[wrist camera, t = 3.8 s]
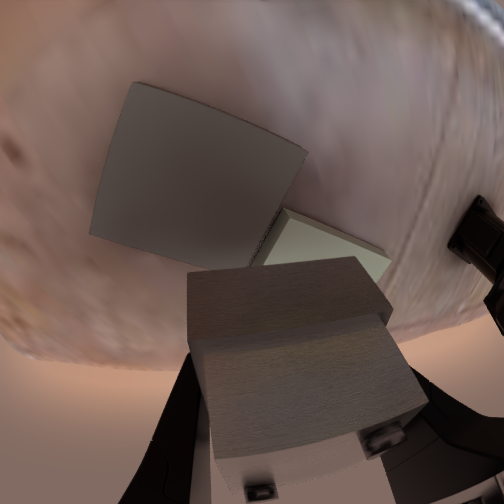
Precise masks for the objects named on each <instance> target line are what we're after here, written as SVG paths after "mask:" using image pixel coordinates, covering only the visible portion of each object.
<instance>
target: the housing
mask: <svg viewBox="0 0 504 504" xmlns="http://www.w3.org/2000/svg"><path fill="white" fill-rule="evenodd" d="M392 312H393V307H392V306H391V304H390V303H389V301H388V300H387V299H386V297H385V296H384V294H383V293H382V292H381V290H380V289H379V287H378V286H377V285H376V283H375V282H374V280H373V279H372V278H371V276H370V275H369V274H368V272H367V271H366V270H365V268H364V267H363V266H362V264H361V263H360V262H359V260H358V259H357V258H356V256H348V257H339V258H330V259H321V260H312V261H302V262H293V263H283V264H273V265H263V266H253V267H243V268H232V269H222V270H211V271H201V272H190V273H187V341H188V345H189V349H190V353H191V357H192V360H193V364H194V368H195V371H196V375H197V379H198V382H199V386H200V389H201V391H202V394H203V397H204V401H205V404H206V407H207V410H208V413H209V420H210V429H211V438H212V445H213V453H214V460H215V462H216V464H217V466H218V468H219V470H220V472H221V474H222V476H223V478H224V480H225V482H226V484H227V486H228V488H229V489H230V491H231V493H232V494H241V493H244V495H245V500H246V503H248V504H252V503H261V502H266V501H271V500H275V499H278V498H279V496H278V492H277V488H279V487H284V486H289V485H293V484H298V483H303V482H307V481H311V480H314V479H318V478H322V477H325V476H329V475H332V474H335V473H339V472H342V471H345V470H348V469H351V468H354V467H356V466H358V465H359V464H360V463H362V462H363V461H364V460H365V459H366V460H372V459H375V458H377V457H380V456H382V455H385V454H387V453H389V452H391V451H393V450H395V449H396V448H398V447H400V446H401V445H403V444H404V443H406V442H407V441H408V438H407V435H406V433H405V431H404V429H403V427H404V426H405V425H406V424H407V423H408V422H409V421H410V420H411V419H412V418H413V417H415V416H416V415H417V414H418V413H419V411H420V410H421V409H422V408H423V407H424V406H425V405H426V404H427V403H428V402H429V401H428V399H427V397H426V395H425V393H424V391H423V389H422V388H421V386H420V384H419V382H418V380H417V379H416V377H415V375H414V373H413V372H412V370H411V368H410V366H409V365H408V363H407V361H406V360H405V358H404V356H403V355H402V353H401V351H400V349H399V348H398V346H397V344H396V343H395V341H394V340H393V338H392V336H391V335H390V333H389V331H388V330H387V328H386V325H387V323H388V321H389V318H390V316H391V314H392Z"/></svg>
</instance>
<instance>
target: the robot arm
mask: <svg viewBox="0 0 504 504" xmlns="http://www.w3.org/2000/svg"><path fill="white" fill-rule="evenodd" d="M448 248H449V249H450V250H451V251H452V252H454V253H455V254H456V255H458V256H459V257H460V258H462V259H463V260H464V261H466V262H467V263H468V264H471V263H472V264H473V265H474V266H475V267H476V268H477V269H478V270H479V271H480V272H481V273H482V274H483V275H484V276H485V277H486V278H487V279H488V280H489V281H490V282H491V283H492V284H493V287H492V288H491V290H490V292H489V293H488V295H487V296H486V297H485V299H484V300H483V301H484V303H485V305H486V306H487V309H488V310H489V312H490V314H491V316H492V317H493V319H494V321H495V323H496V325H497V326H498V328H499V330H500V332H501V334H502V335H503V336H504V221H502V220H501V219H500V218H498V217H497V216H496V214H495V213H494V211H493V210H492V209H491V207H490V206H489V204H488V203H487V202H486V200H485V199H484V198H483V197H482V196H480V195H479V196H478V197H477V198H476V200H475V202H474V203H473V205H472V207H471V209H470V210H469V212H468V214H467V216H466V217H465V219H464V221H463V222H462V224H461V225H460V227H459V229H458V230H457V232H456V233H455V235H454V236H453V238H452V240H451V241H450V243H449V244H448ZM409 366H410V365H409ZM410 368H411V370H412V372H413V373H414V375H415V377H416V379H417V380H418V382H419V384H420V386H421V388H422V389H423V391H424V393H425V395H426V397H427V399H428V401H429V402H428V403H427V404H426V405H425V406H424V407H423V408H422V409H421V410H420V411H419V413H418V414H417V415H416V416H415V417H413V418H412V419H411V420H410V421H409V422H408V423H407V424H406V425H405V426H404V427H403V429H404V431H405V433H406V435H407V438H408V441H407V442H406V443H404V444H403V445H401V446H400V447H398V448H396V449H395V450H393V451H391V452H389V453H387V454H385V455H382V456H380V457H381V460H382V463H383V466H384V469H385V472H386V475H387V478H388V481H389V483H390V487H391V490H392V493H393V496H394V499H395V502H396V504H504V418H499V417H487V416H484V415H481V414H479V413H477V412H476V411H474V410H472V409H471V408H468V407H467V406H466V405H464V404H462V403H461V402H459V401H457V400H456V399H454V398H453V397H451V396H450V395H448V394H447V393H445V392H444V391H442V390H441V389H440V388H438V387H437V386H436V385H434V384H433V383H432V382H429V380H428V379H426V378H425V377H424V376H423V375H421V374H420V373H419V372H417V371H416V370H415V369H413V368H412V367H411V366H410ZM209 427H210V420H209V413H208V410H207V407H206V404H205V401H204V397H203V394H202V391H201V389H200V386H199V382H198V379H197V375H196V371H195V368H194V364H193V360H192V357H191V353H190V352H189V353H188V354H187V356H186V358H185V360H184V363H183V365H182V367H181V370H180V372H179V374H178V377H177V380H176V382H175V384H174V386H173V389H172V391H171V393H170V396H169V398H168V401H167V403H166V405H165V408H164V410H163V413H162V415H161V417H160V420H159V422H158V425H157V427H156V430H155V432H154V435H153V437H152V440H153V441H150V444H149V446H148V449H147V451H146V453H145V456H144V458H143V460H142V462H141V464H140V466H139V468H138V470H137V472H136V474H135V475H134V477H133V479H132V481H131V482H130V484H129V486H128V488H127V489H126V491H125V493H124V494H123V496H122V498H121V499H120V501H119V503H118V504H211V483H210V482H211V480H210V428H209Z"/></svg>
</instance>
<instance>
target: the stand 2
mask: <svg viewBox="0 0 504 504" xmlns="http://www.w3.org/2000/svg"><path fill="white" fill-rule="evenodd" d="M348 256H356V258H357V259H358V260H359V262H360V263H361V264H362V266H363V267H364V268H365V270H366V271H367V272H368V274H369V275H370V276H371V278H372V279H373V280H374V282H375V283H377V281H378V280H379V279H380V277H381V276H382V275H383V273H384V272H385V271H386V269H387V268H388V266H389V265H390V264H391V262H392V260H391V258H390V257H389V256H388V255H387V254H386V253H385V252H384V251H383V250H381V249H379V248H377V247H375V246H372V245H370V244H368V243H366V242H364V241H361V240H359V239H357V238H355V237H352V236H350V235H348V234H346V233H343V232H341V231H339V230H336V229H334V228H332V227H329V226H327V225H325V224H322V223H320V222H318V221H315V220H313V219H310V218H308V217H306V216H303V215H301V214H298V213H296V212H293V211H291V210H288V209H286V208H283V209H282V210H281V212H280V214H279V216H278V218H277V219H276V221H275V223H274V225H273V227H272V229H271V230H270V232H269V234H268V236H267V238H266V239H265V241H264V243H263V245H262V247H261V248H260V250H259V252H258V254H257V256H256V257H255V259H254V261H253V263H252V265H251V266H250V267H253V266H263V265H273V264H283V263H293V262H302V261H312V260H321V259H330V258H339V257H348Z"/></svg>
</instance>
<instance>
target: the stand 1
mask: <svg viewBox="0 0 504 504" xmlns="http://www.w3.org/2000/svg"><path fill="white" fill-rule="evenodd" d="M308 153H309V152H308V151H306V150H305V149H303V148H302V147H300V146H299V145H297V144H295V143H293V142H291V141H289V140H287V139H285V138H283V137H280V136H278V135H276V134H274V133H272V132H270V131H268V130H266V129H263V128H261V127H259V126H257V125H254V124H252V123H250V122H248V121H245V120H243V119H241V118H238V117H236V116H234V115H231V114H229V113H226V112H224V111H221V110H219V109H216V108H214V107H211V106H209V105H206V104H203V103H201V102H198V101H195V100H193V99H190V98H187V97H184V96H181V95H178V94H176V93H173V92H170V91H167V90H164V89H160V88H157V87H154V86H151V85H148V84H144V83H141V82H133V83H132V85H131V88H130V90H129V93H128V95H127V98H126V100H125V103H124V106H123V108H122V111H121V114H120V117H119V120H118V123H117V126H116V129H115V132H114V135H113V138H112V141H111V144H110V147H109V151H108V154H107V158H106V161H105V165H104V169H103V172H102V176H101V180H100V184H99V188H98V193H97V197H96V201H95V206H94V211H93V216H92V221H91V226H90V232H89V234H90V235H94V236H97V237H100V238H103V239H107V240H110V241H113V242H116V243H120V244H123V245H126V246H130V247H133V248H137V249H140V250H143V251H147V252H150V253H154V254H157V255H161V256H164V257H167V258H171V259H174V260H178V261H182V262H185V263H189V264H192V265H196V266H199V267H203V268H207V269H210V270H222V269H232V268H243V267H246V266H247V264H248V262H249V261H250V259H251V257H252V255H253V253H254V251H255V250H256V248H257V246H258V244H259V242H260V240H261V239H262V237H263V235H264V233H265V231H266V230H267V228H268V226H269V224H270V222H271V220H272V219H273V217H274V215H275V213H276V211H277V209H278V208H279V206H280V204H281V202H282V200H283V198H284V197H285V195H286V193H287V191H288V189H289V187H290V186H291V184H292V182H293V180H294V178H295V176H296V175H297V173H298V171H299V169H300V167H301V165H302V164H303V162H304V160H305V158H306V156H307V154H308Z"/></svg>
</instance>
